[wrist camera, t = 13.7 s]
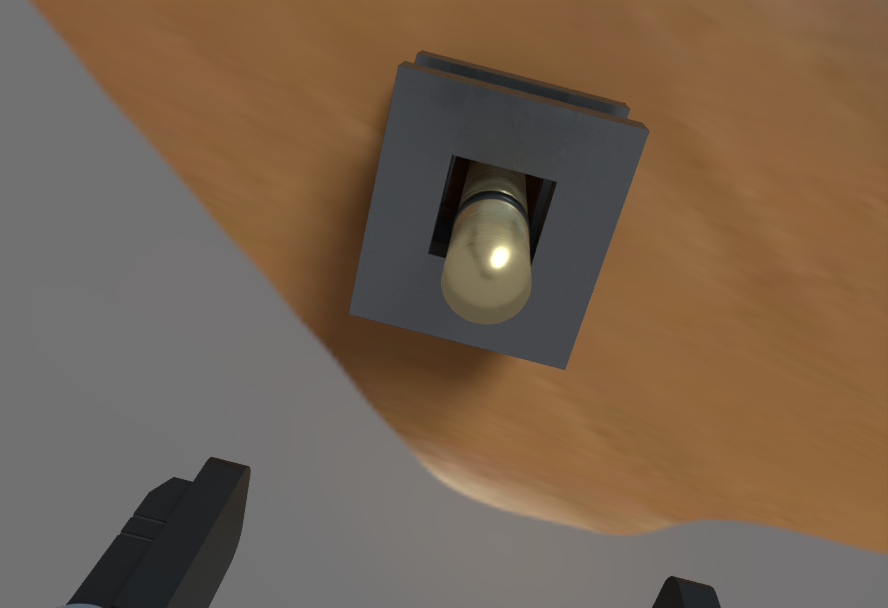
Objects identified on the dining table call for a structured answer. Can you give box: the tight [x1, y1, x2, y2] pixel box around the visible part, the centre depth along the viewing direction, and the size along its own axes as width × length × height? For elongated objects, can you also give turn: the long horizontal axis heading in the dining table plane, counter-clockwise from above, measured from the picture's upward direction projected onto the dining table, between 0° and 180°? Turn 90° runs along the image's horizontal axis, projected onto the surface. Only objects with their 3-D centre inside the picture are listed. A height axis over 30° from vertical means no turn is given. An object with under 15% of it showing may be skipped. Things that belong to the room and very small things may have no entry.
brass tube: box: [441, 160, 532, 325], centre depth 34 cm, size 3×3×18 cm
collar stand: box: [348, 51, 649, 370], centre depth 38 cm, size 12×11×10 cm
